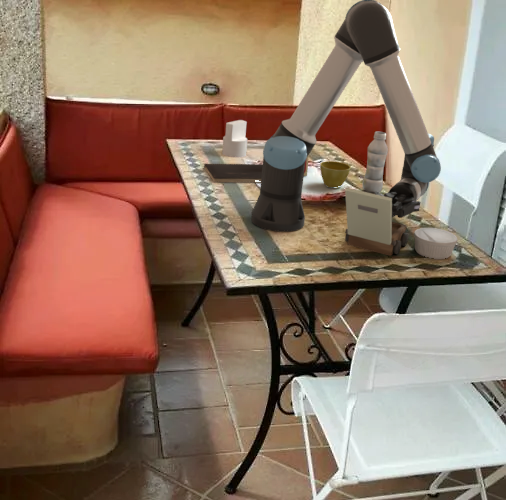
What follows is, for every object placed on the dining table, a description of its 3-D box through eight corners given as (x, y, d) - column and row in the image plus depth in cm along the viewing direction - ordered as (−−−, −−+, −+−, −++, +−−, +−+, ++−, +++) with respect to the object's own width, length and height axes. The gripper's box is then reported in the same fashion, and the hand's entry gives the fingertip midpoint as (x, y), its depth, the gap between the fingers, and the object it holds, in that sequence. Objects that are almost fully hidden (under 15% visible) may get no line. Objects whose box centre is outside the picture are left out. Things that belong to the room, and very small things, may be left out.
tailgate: (349, 231, 186) (346, 187, 174) (391, 242, 181) (391, 198, 170) (347, 235, 185) (344, 191, 173) (389, 245, 181) (390, 201, 169)
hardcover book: (280, 184, 235) (281, 177, 234) (213, 184, 229) (213, 177, 228) (267, 170, 249) (268, 163, 248) (203, 169, 243) (204, 163, 242)
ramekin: (403, 250, 189) (406, 232, 186) (425, 241, 196) (429, 224, 194) (439, 265, 181) (443, 246, 179) (461, 255, 189) (465, 237, 187)
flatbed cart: (358, 230, 199) (360, 214, 197) (407, 243, 193) (410, 226, 192) (341, 245, 188) (344, 227, 186) (393, 258, 182) (397, 240, 180)
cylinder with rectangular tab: (231, 149, 269) (234, 118, 264) (250, 154, 264) (253, 123, 259) (217, 153, 262) (219, 121, 257) (236, 158, 257) (239, 126, 252)
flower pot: (333, 192, 230) (336, 171, 227) (311, 183, 237) (314, 163, 234) (353, 188, 236) (356, 167, 233) (331, 179, 243) (334, 159, 240)
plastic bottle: (381, 196, 230) (391, 136, 223) (360, 193, 231) (369, 133, 224) (381, 190, 236) (391, 132, 228) (361, 187, 237) (370, 129, 230)
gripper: (425, 212, 197) (403, 238, 177) (379, 202, 202) (352, 225, 182) (430, 186, 194) (408, 210, 174) (383, 177, 199) (356, 198, 179)
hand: (379, 218), depth 178 cm, fingers closed
